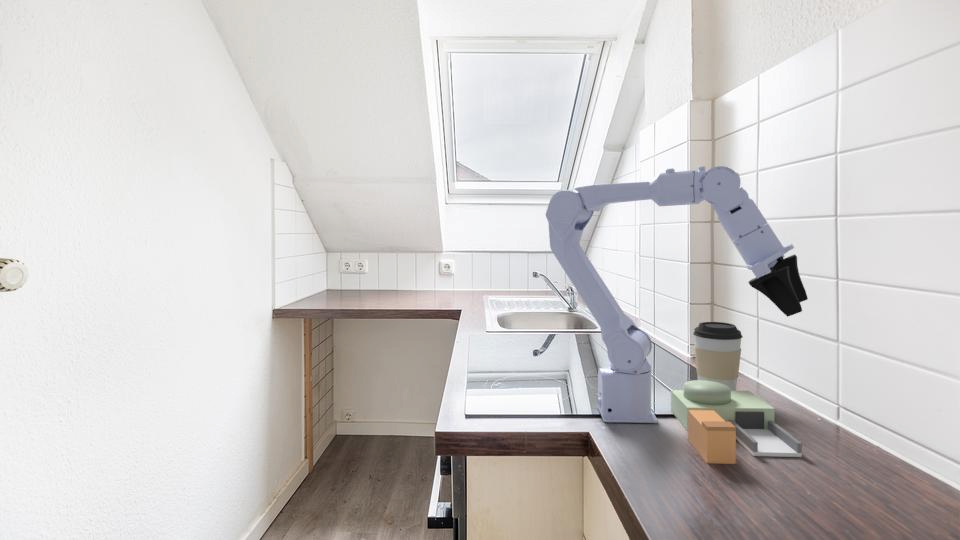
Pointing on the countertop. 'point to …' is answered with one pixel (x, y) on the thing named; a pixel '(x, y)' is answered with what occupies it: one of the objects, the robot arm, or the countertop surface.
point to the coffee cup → (718, 352)
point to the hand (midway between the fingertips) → (798, 307)
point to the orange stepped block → (712, 436)
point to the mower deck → (737, 416)
